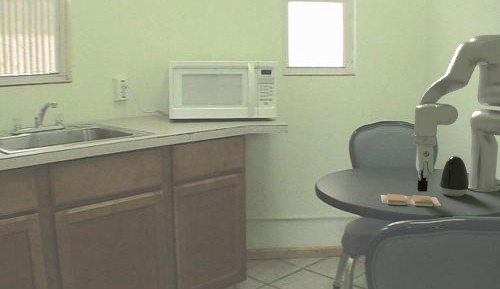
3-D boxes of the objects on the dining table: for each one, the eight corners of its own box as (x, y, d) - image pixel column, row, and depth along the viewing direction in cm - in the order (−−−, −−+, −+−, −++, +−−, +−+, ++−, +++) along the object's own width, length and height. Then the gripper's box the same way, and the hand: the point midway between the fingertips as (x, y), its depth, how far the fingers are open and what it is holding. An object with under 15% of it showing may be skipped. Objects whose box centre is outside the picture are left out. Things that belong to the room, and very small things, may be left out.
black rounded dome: (433, 195, 191) (436, 156, 189) (446, 190, 198) (448, 152, 196) (460, 201, 184) (463, 160, 181) (472, 195, 191) (475, 156, 188)
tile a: (429, 195, 183) (432, 202, 175) (429, 200, 183) (432, 206, 175) (412, 195, 184) (414, 201, 176) (412, 199, 184) (414, 205, 176)
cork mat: (436, 198, 187) (436, 197, 187) (441, 207, 176) (441, 205, 176) (380, 196, 191) (380, 194, 190) (382, 204, 180) (382, 202, 180)
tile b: (403, 194, 184) (406, 200, 177) (403, 199, 185) (405, 205, 177) (386, 194, 186) (388, 199, 178) (386, 198, 186) (388, 204, 178)
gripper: (439, 144, 169) (436, 197, 172) (432, 137, 184) (430, 186, 187) (416, 143, 171) (413, 196, 174) (411, 137, 185) (409, 185, 188)
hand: (422, 190), depth 180 cm, fingers closed
